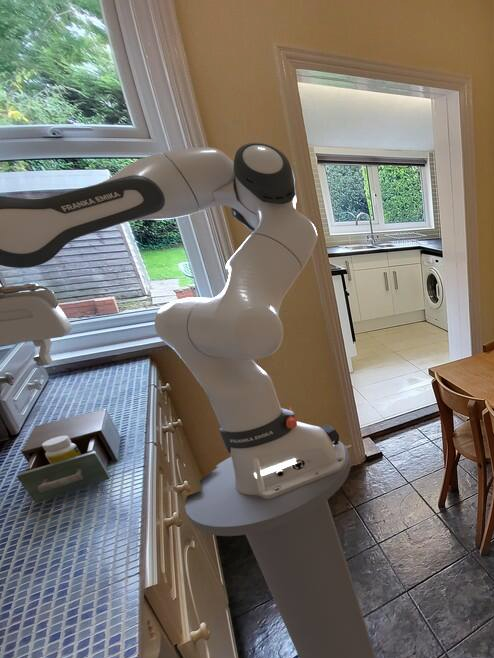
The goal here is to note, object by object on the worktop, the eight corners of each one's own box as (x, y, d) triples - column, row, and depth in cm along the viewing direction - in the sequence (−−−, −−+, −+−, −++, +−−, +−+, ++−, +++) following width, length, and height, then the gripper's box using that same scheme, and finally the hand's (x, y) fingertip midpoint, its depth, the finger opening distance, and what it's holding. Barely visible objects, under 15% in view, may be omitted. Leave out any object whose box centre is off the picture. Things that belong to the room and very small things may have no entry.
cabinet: (118, 461, 97) (100, 429, 93) (42, 484, 90) (21, 451, 86) (121, 437, 107) (105, 408, 104) (54, 456, 100) (34, 426, 97)
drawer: (108, 488, 86) (92, 461, 83) (30, 514, 79) (10, 486, 77) (113, 453, 98) (100, 428, 96) (47, 473, 92) (30, 447, 89)
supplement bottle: (93, 469, 90) (74, 437, 87) (64, 482, 87) (43, 449, 83) (84, 464, 93) (65, 432, 89) (56, 476, 89) (35, 443, 85)
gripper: (55, 279, 72) (93, 352, 78) (-119, 296, 64) (-62, 377, 70) (38, 284, 67) (80, 363, 73) (-154, 304, 59) (-89, 390, 65)
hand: (9, 370), depth 71 cm, fingers open, 8 cm apart
